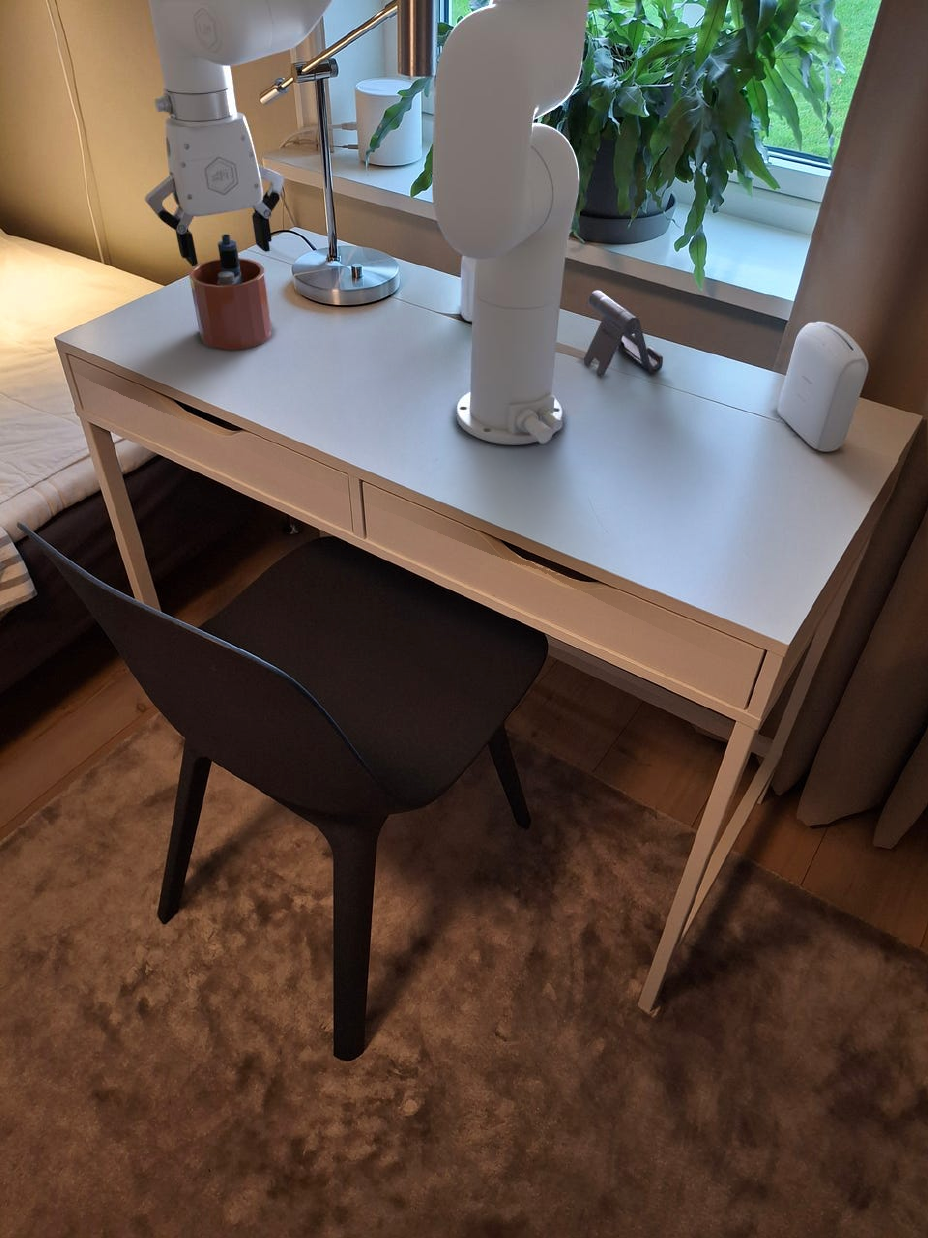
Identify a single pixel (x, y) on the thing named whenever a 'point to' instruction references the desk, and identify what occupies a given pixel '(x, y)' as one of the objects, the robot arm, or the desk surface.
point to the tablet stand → (618, 336)
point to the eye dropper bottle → (467, 287)
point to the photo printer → (823, 385)
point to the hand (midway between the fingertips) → (227, 255)
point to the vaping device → (229, 262)
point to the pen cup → (231, 306)
